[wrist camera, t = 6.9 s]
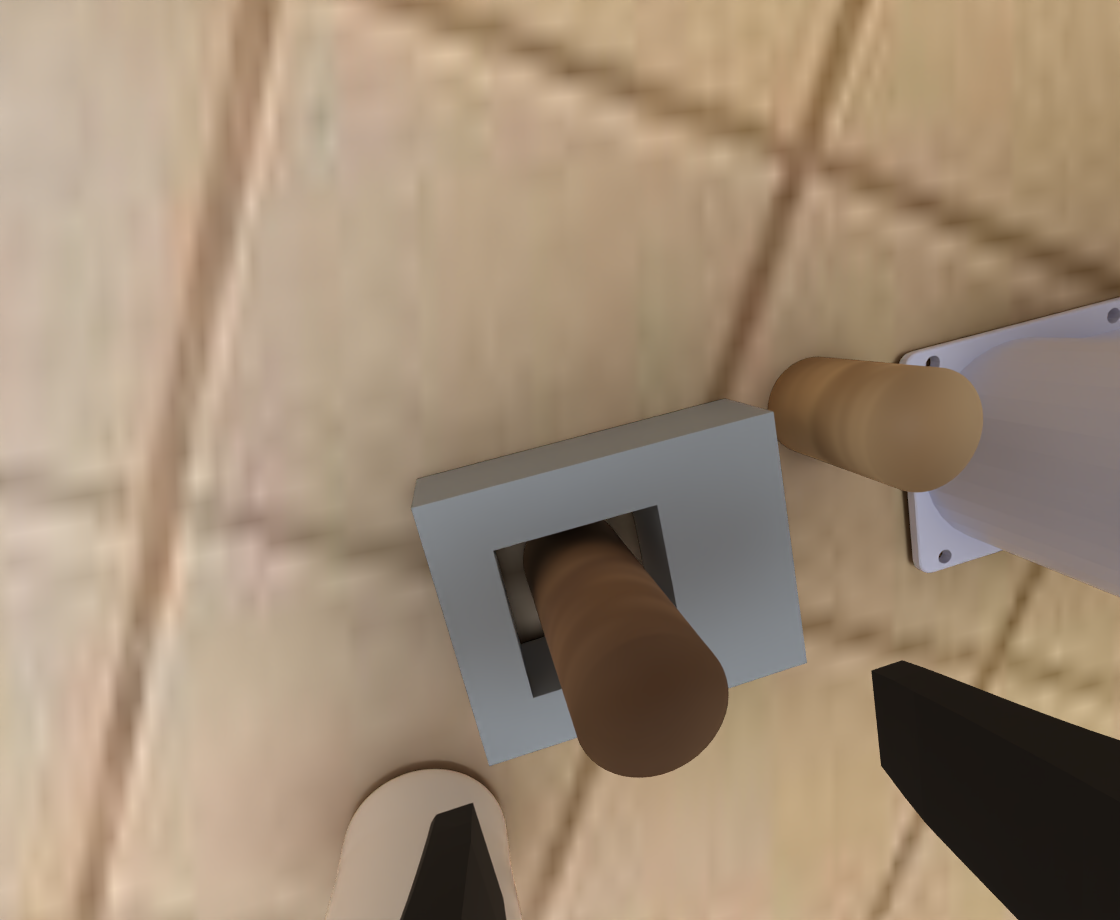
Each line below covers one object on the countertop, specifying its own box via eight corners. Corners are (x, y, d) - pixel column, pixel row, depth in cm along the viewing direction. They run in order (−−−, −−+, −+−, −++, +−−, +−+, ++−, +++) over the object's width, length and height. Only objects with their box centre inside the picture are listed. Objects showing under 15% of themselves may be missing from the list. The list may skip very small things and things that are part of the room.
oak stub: (851, 346, 20) (980, 353, 15) (860, 439, 21) (985, 474, 16) (761, 369, 19) (864, 384, 15) (774, 463, 20) (876, 506, 15)
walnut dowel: (612, 500, 19) (720, 615, 12) (625, 590, 20) (735, 753, 13) (514, 522, 19) (561, 655, 11) (532, 613, 20) (587, 795, 12)
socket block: (724, 398, 19) (773, 411, 16) (758, 617, 21) (806, 662, 19) (416, 478, 18) (411, 508, 15) (483, 703, 20) (489, 765, 17)
